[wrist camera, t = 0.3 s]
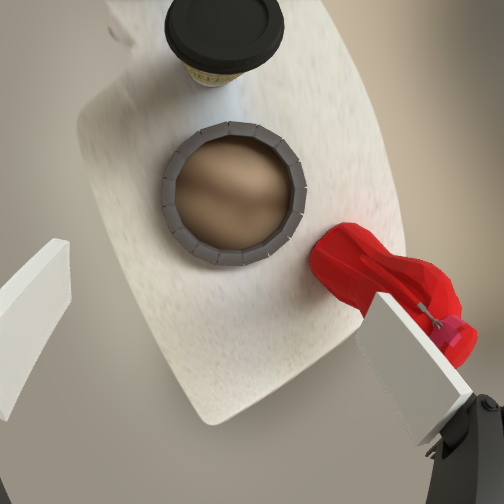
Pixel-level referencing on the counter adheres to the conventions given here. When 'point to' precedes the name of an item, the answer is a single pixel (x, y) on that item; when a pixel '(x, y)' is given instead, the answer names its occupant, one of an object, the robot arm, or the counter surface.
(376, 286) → the red curved bottle
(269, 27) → the coffee cup
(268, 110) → the counter surface
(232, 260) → the round tray
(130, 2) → the counter surface
